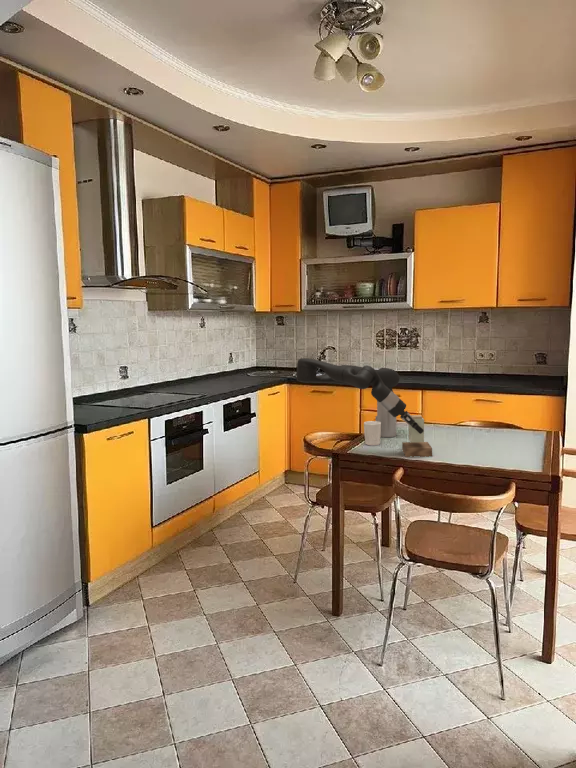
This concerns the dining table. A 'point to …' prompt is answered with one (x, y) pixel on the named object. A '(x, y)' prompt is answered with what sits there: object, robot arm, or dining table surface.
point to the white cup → (372, 432)
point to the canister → (414, 434)
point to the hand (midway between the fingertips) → (420, 430)
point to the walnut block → (417, 449)
